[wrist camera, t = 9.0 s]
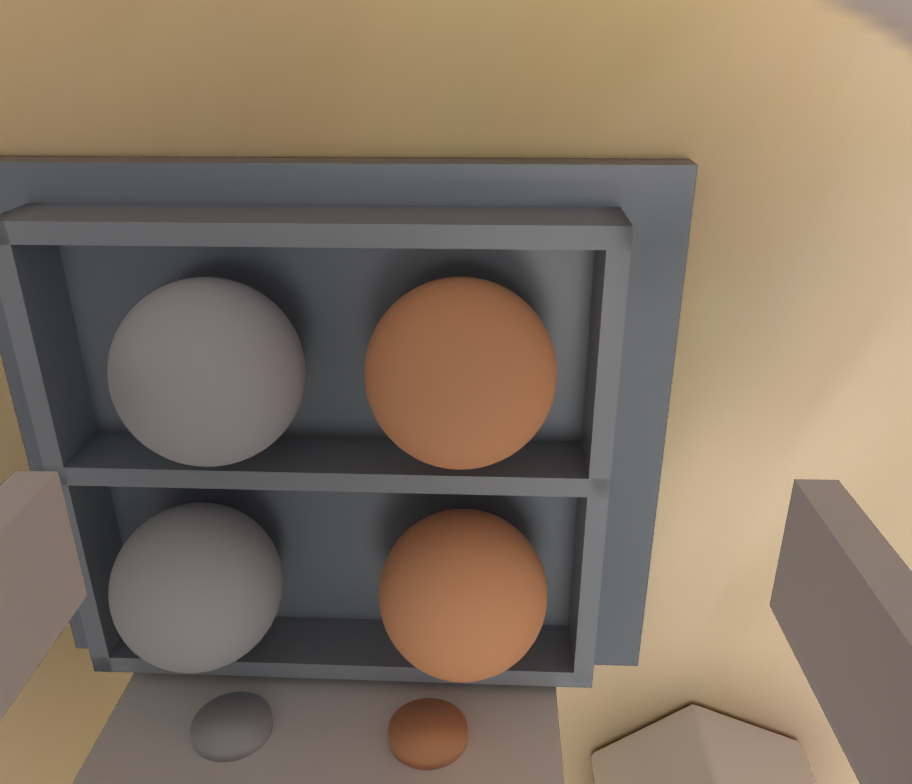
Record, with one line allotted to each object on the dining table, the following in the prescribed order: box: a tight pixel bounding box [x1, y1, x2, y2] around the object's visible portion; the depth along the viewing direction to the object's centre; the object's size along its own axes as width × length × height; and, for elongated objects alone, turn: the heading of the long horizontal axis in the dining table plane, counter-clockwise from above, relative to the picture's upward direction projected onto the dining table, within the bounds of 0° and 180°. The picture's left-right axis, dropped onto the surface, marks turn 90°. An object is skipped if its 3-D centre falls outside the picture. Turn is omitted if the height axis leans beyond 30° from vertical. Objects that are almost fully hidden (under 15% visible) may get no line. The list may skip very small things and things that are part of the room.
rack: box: [0, 156, 698, 784], centre depth 21 cm, size 20×17×11 cm
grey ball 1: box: [107, 277, 306, 467], centre depth 21 cm, size 5×5×5 cm
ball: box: [364, 277, 557, 470], centre depth 21 cm, size 5×5×5 cm
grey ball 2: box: [108, 502, 283, 673], centre depth 24 cm, size 5×5×5 cm
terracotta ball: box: [379, 508, 547, 682], centre depth 24 cm, size 5×5×5 cm
